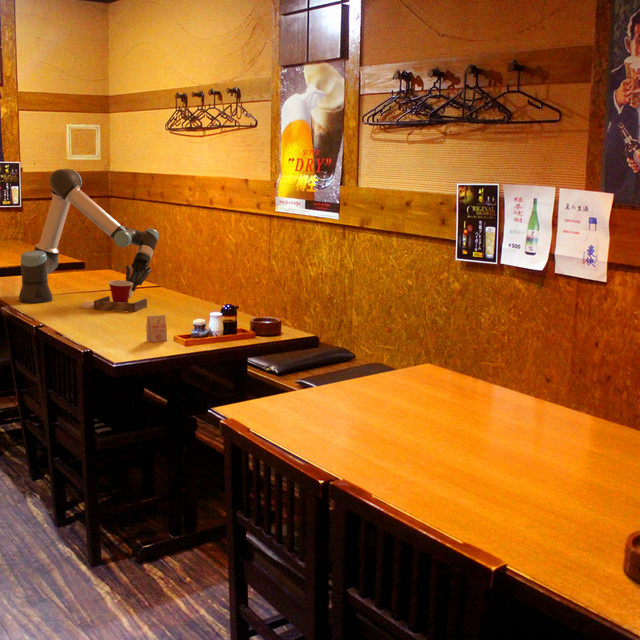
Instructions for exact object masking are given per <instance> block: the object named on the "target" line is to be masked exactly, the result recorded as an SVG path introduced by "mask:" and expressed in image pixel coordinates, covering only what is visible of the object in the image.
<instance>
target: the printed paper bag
mask: <svg viewBox="0 0 640 640" xmlns="http://www.w3.org/2000/svg"><path fill="white" fill-rule="evenodd" d="M146 319H147V320H146V326H145V327H146V342H148V343H149V344H155V342H156V343H163V342H164V341H166V342H168V336H167V335H168V333H167V332H168V330H167V329H168V328H167V322H166V321H167V320H166V315H165V314H161V315H149V316H147V318H146Z"/></svg>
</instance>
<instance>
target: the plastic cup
mask: <svg viewBox="0 0 640 640" xmlns="http://www.w3.org/2000/svg"><path fill="white" fill-rule="evenodd" d="M107 283H108V285H109V290H110V292H111V293H110V294H111V298H112V302H124V303H129V299H130V298H129V292H130V287H131V285H132V282H129V281H126V280H121V279H119V280H110V281H107Z"/></svg>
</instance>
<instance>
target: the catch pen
mask: <svg viewBox="0 0 640 640" xmlns="http://www.w3.org/2000/svg"><path fill="white" fill-rule="evenodd" d="M93 302H94V308H93V309H99V310H98V311H109V310H115V311H114V312H123V311H128V312H127V313H135V312H138V310H139V311H141V310H144V309H146V308H148V299H147V298H142V299H140V300H137V301H134V302H128V303H124V302H113V301H111V296H110V295H108V296H105V297H102V298H98V299H95V300H93ZM145 307H146V308H145ZM143 308H144V309H143ZM140 309H141V310H140Z"/></svg>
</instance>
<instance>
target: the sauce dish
mask: <svg viewBox="0 0 640 640" xmlns="http://www.w3.org/2000/svg"><path fill="white" fill-rule="evenodd" d="M80 305H81V306H80V308H81V307H82V308H81V309H85V308H92V309H94V301H85V302H82V303H80Z"/></svg>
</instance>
